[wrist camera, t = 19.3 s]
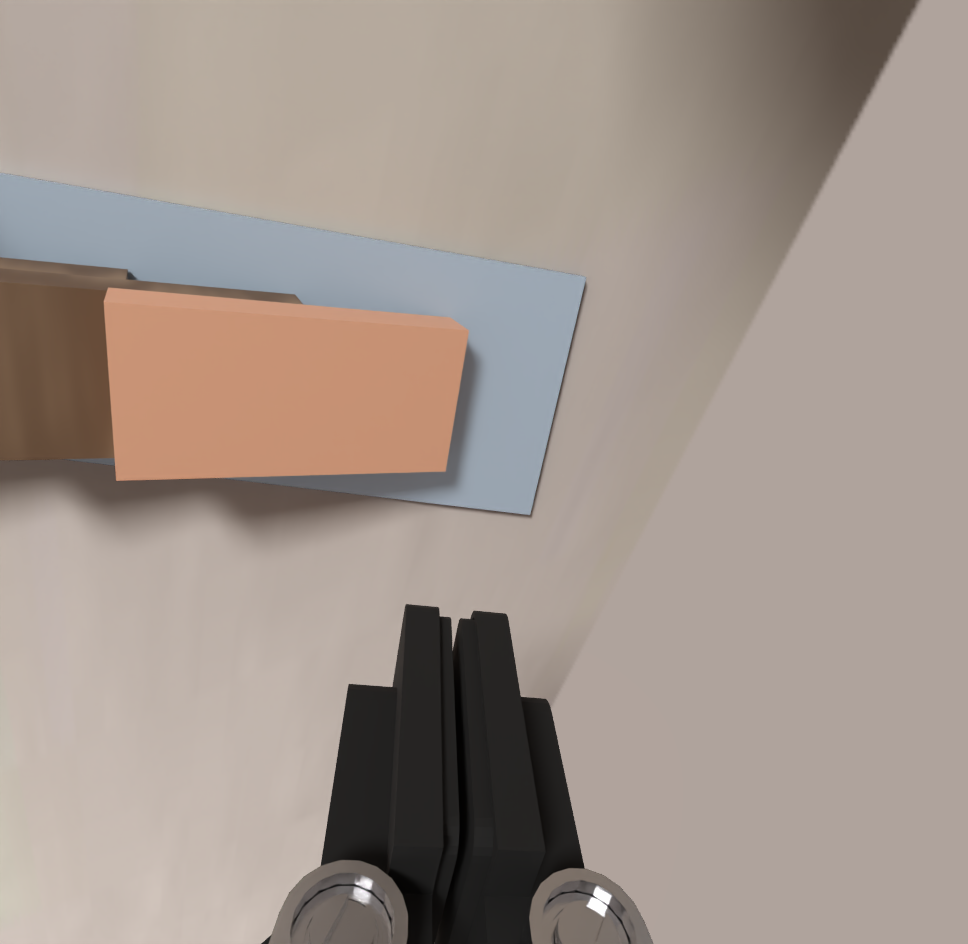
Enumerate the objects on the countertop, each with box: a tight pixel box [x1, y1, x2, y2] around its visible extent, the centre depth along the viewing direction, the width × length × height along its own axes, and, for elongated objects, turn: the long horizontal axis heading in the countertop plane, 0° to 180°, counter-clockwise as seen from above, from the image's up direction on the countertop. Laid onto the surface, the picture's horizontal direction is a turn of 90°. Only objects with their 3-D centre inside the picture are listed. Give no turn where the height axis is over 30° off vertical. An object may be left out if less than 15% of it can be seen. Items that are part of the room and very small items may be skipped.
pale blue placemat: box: [0, 173, 586, 515], centre depth 26 cm, size 11×25×1 cm, turn 80°
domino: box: [0, 268, 302, 460], centre depth 23 cm, size 2×6×12 cm
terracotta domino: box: [104, 288, 469, 481], centre depth 24 cm, size 2×6×12 cm
